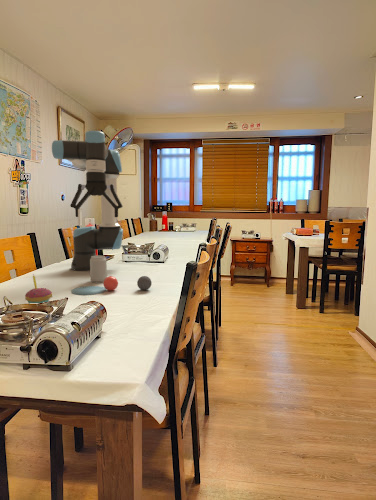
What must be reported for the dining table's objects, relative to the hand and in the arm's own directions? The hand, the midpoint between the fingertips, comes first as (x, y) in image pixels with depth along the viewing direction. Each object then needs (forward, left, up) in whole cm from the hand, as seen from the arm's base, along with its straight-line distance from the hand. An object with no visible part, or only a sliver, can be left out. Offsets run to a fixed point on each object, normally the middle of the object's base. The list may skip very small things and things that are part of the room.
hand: (97, 225), depth 135 cm
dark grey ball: (0, +19, -24) cm, 31 cm away
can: (-17, -3, -28) cm, 33 cm away
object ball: (0, +5, -24) cm, 25 cm away
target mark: (0, -4, -27) cm, 28 cm away
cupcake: (+23, -16, -28) cm, 39 cm away
